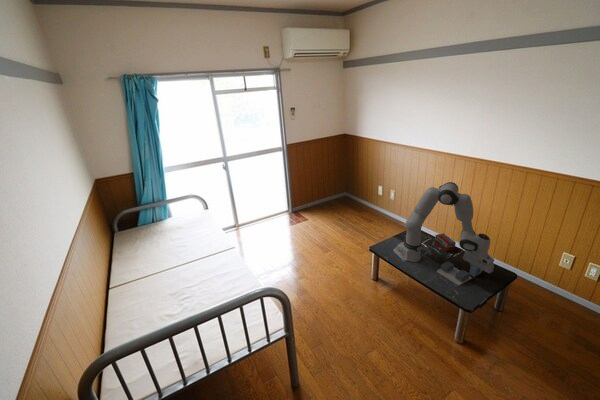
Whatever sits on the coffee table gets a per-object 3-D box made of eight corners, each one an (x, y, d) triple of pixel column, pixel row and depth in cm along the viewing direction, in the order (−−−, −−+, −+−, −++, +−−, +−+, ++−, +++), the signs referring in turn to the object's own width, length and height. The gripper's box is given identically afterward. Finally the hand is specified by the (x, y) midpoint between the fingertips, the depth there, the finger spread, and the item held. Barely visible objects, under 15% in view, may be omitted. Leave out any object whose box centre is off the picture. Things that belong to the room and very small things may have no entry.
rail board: (436, 271, 211) (437, 265, 208) (449, 265, 216) (450, 259, 214) (458, 285, 196) (460, 279, 194) (471, 278, 202) (473, 272, 199)
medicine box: (454, 250, 233) (456, 241, 230) (446, 252, 232) (447, 243, 228) (441, 240, 247) (443, 232, 243) (433, 242, 245) (435, 234, 242)
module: (468, 274, 206) (470, 266, 203) (475, 270, 209) (477, 262, 206) (474, 277, 203) (476, 269, 200) (481, 273, 206) (483, 265, 203)
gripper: (462, 249, 206) (459, 264, 212) (491, 264, 190) (487, 280, 195) (468, 246, 209) (465, 261, 215) (496, 261, 192) (492, 276, 198)
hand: (475, 270), depth 205 cm, fingers closed on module, 4 cm apart
